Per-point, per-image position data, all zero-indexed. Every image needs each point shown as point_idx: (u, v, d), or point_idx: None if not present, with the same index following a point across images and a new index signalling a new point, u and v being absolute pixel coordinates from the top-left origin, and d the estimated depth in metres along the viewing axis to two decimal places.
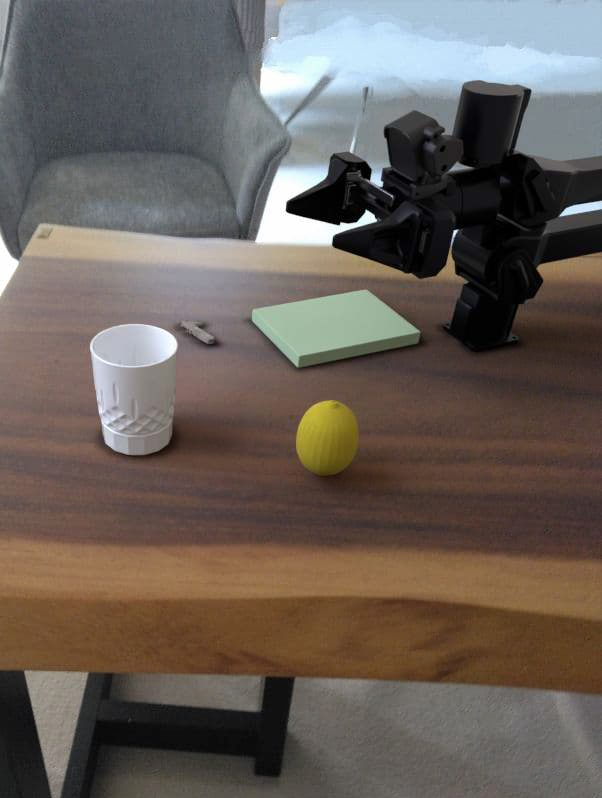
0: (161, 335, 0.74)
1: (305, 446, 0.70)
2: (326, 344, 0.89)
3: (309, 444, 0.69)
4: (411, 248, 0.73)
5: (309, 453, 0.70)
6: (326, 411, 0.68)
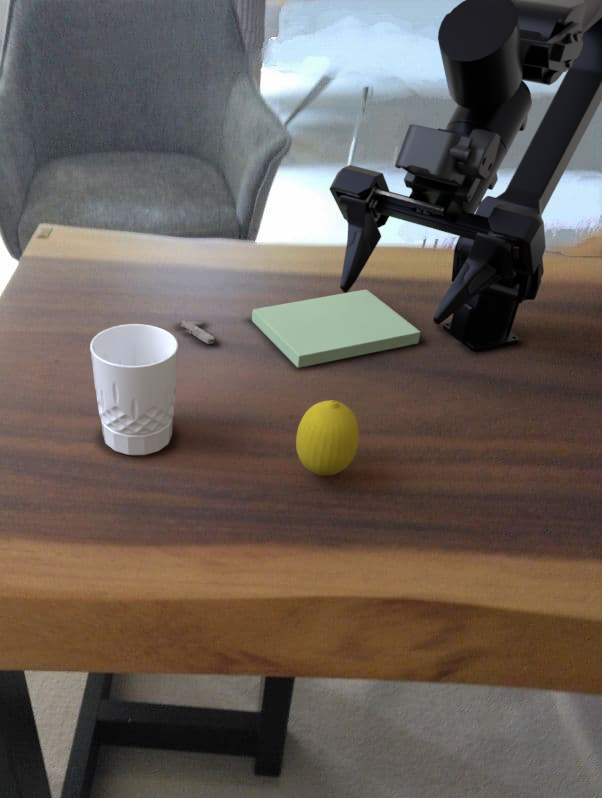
0: (161, 335, 0.74)
1: (305, 446, 0.70)
2: (326, 344, 0.89)
3: (309, 444, 0.69)
4: (509, 266, 0.66)
5: (309, 453, 0.70)
6: (326, 411, 0.68)
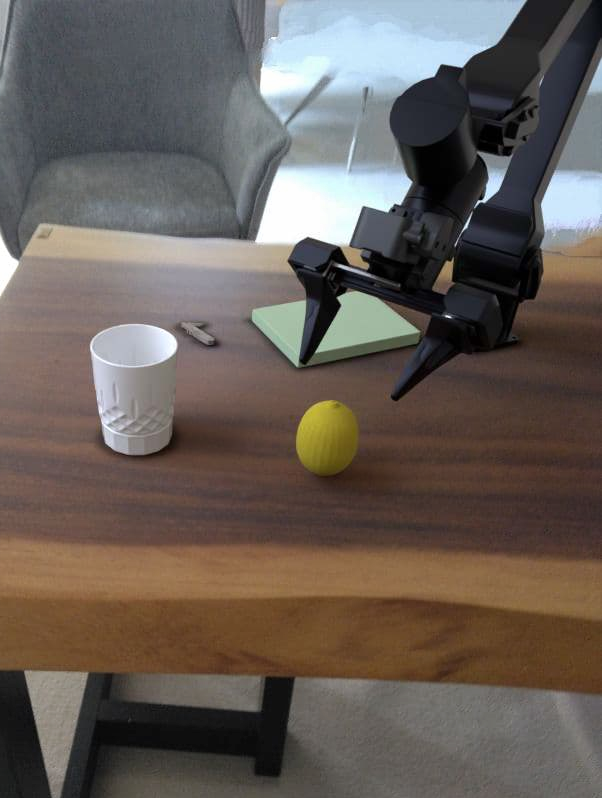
0: (161, 335, 0.74)
1: (305, 446, 0.70)
2: (326, 344, 0.89)
3: (309, 444, 0.69)
4: (466, 344, 0.65)
5: (309, 453, 0.70)
6: (326, 411, 0.68)
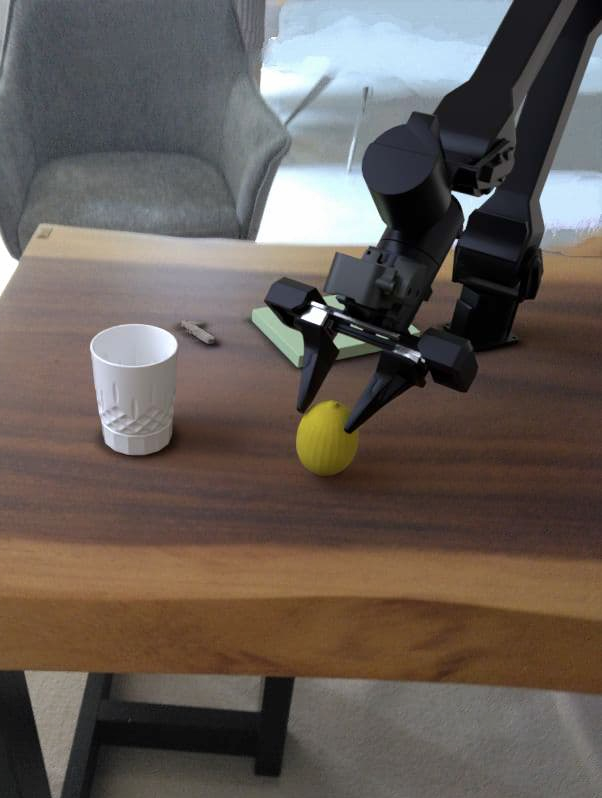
0: (161, 335, 0.74)
1: (305, 446, 0.70)
2: None
3: (309, 444, 0.69)
4: (417, 378, 0.66)
5: (309, 453, 0.70)
6: (326, 411, 0.68)
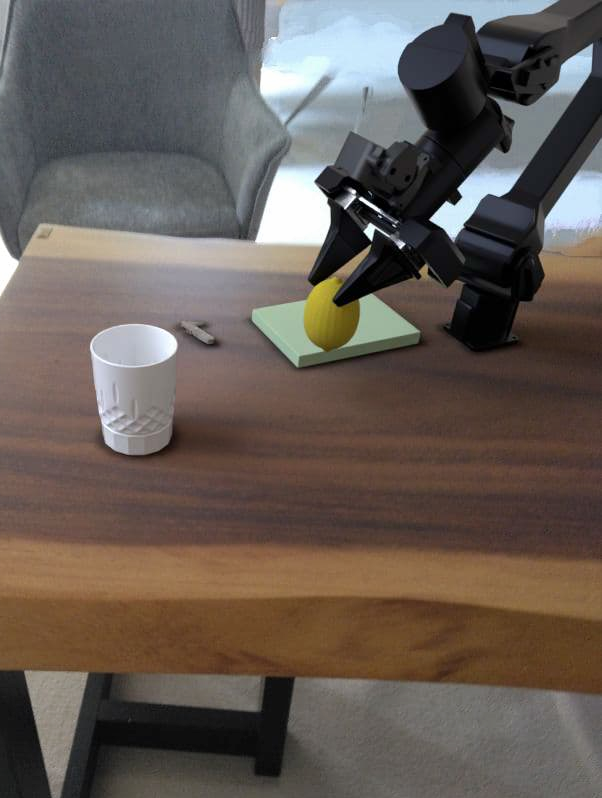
0: (161, 335, 0.74)
1: (305, 313, 0.78)
2: None
3: (307, 311, 0.78)
4: (405, 265, 0.71)
5: (306, 320, 0.78)
6: (327, 284, 0.76)
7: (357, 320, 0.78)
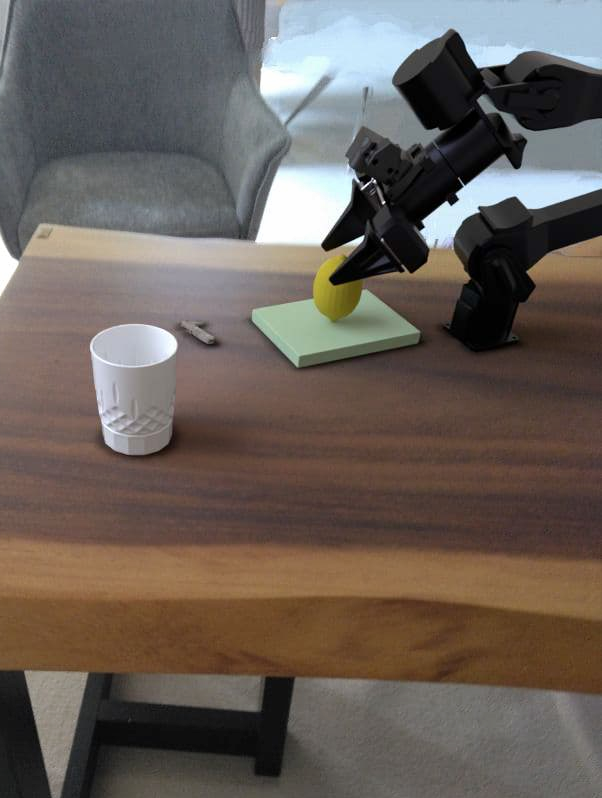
0: (161, 335, 0.74)
1: (314, 282, 0.91)
2: (326, 344, 0.89)
3: None
4: None
5: (313, 288, 0.91)
6: (333, 259, 0.88)
7: (354, 296, 0.89)
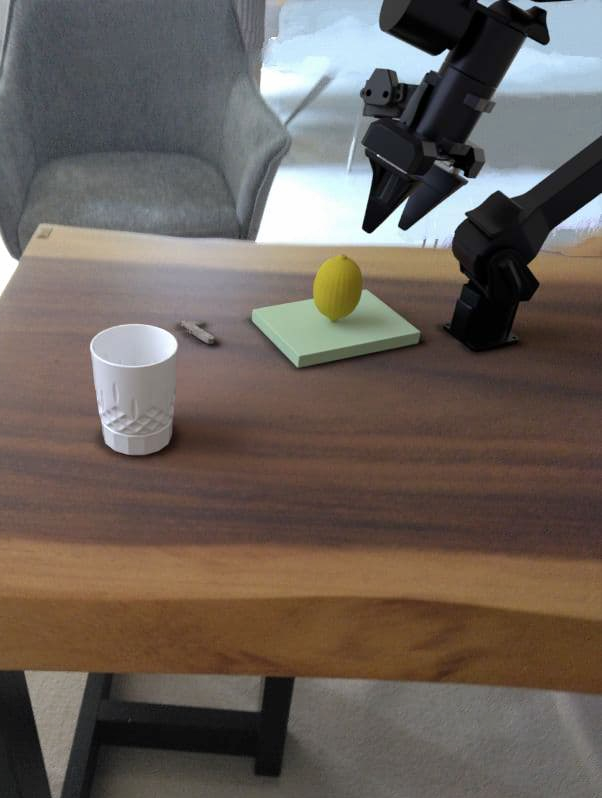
0: (161, 335, 0.74)
1: (314, 282, 0.91)
2: (326, 344, 0.89)
3: None
4: (389, 170, 0.74)
5: (313, 288, 0.91)
6: (333, 259, 0.88)
7: (354, 296, 0.89)
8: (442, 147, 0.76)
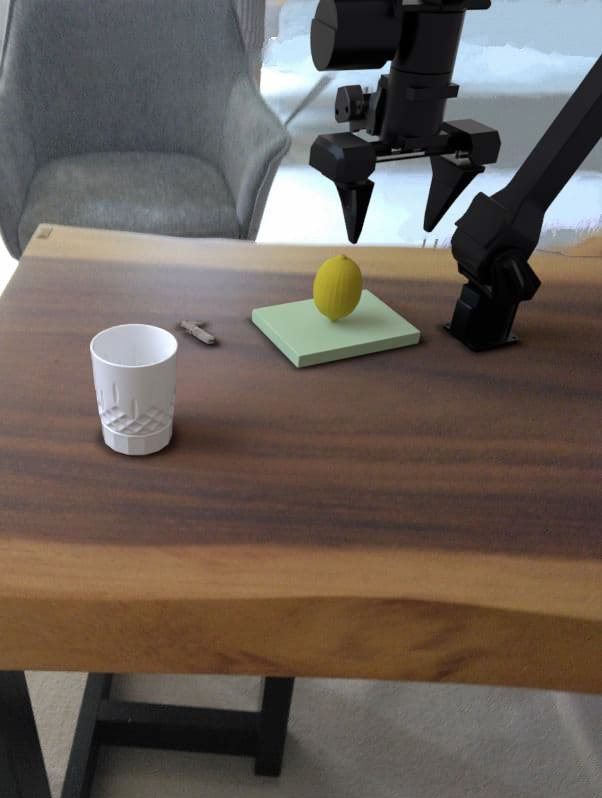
0: (161, 335, 0.74)
1: (314, 282, 0.91)
2: (326, 344, 0.89)
3: None
4: (336, 182, 0.76)
5: (313, 288, 0.91)
6: (333, 259, 0.88)
7: (354, 296, 0.89)
8: (399, 145, 0.74)
